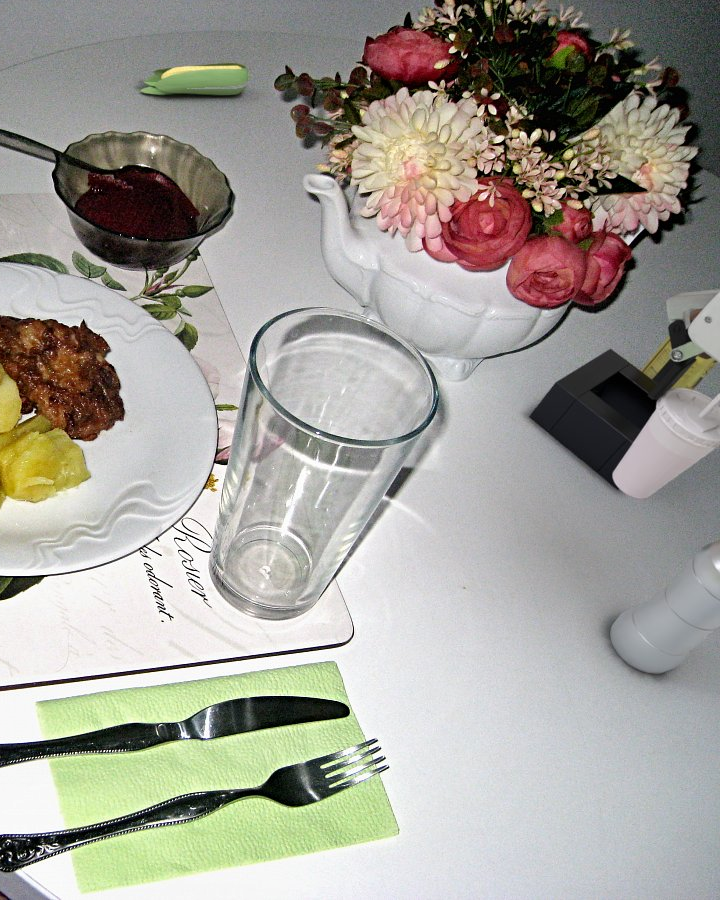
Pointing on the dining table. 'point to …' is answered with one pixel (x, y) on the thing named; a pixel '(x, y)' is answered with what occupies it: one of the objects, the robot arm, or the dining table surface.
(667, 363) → the robot arm
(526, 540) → the dining table surface
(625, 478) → the smoothie
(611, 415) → the dark storage bin
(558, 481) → the dining table surface
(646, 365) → the sauce bottle
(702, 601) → the plastic bottle
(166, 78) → the edible corn
